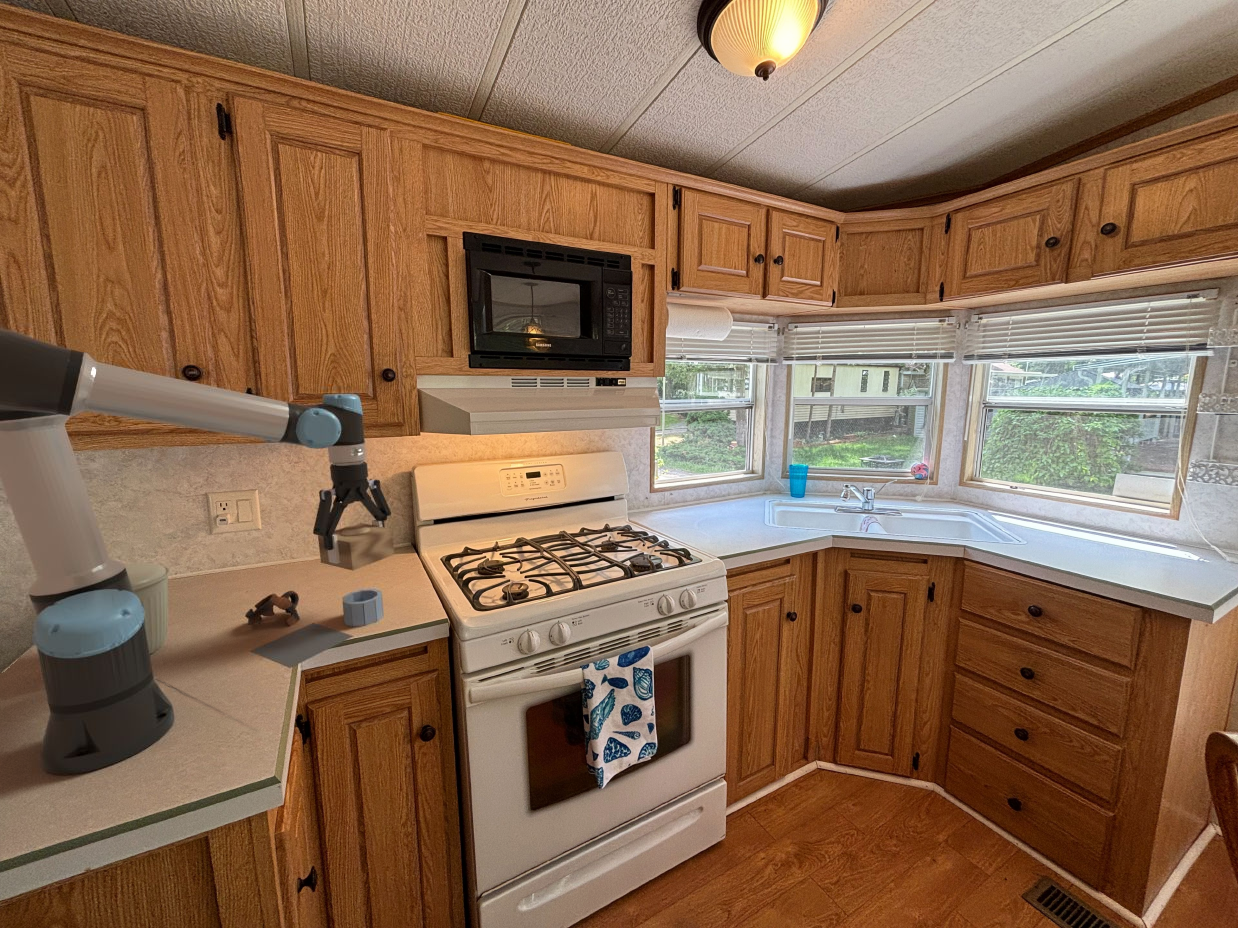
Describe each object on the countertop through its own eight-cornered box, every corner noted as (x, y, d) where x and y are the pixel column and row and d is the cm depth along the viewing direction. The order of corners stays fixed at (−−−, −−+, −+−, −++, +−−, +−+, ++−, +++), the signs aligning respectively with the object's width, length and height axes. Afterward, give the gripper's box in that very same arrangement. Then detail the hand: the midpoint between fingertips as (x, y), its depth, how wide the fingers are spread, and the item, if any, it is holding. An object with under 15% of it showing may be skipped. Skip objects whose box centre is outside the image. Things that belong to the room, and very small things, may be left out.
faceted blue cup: (361, 630, 117) (359, 606, 116) (336, 622, 121) (333, 599, 120) (391, 615, 125) (389, 592, 124) (367, 608, 128) (365, 586, 127)
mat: (290, 669, 102) (290, 667, 102) (249, 652, 108) (249, 650, 108) (353, 637, 114) (353, 635, 114) (313, 624, 120) (313, 622, 120)
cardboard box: (352, 570, 112) (349, 541, 111) (320, 562, 117) (317, 534, 116) (394, 554, 122) (391, 527, 121) (363, 547, 127) (360, 521, 126)
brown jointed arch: (287, 635, 116) (261, 610, 113) (257, 649, 118) (231, 624, 115) (318, 601, 127) (295, 576, 124) (290, 613, 129) (267, 590, 126)
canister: (169, 663, 103) (154, 565, 100) (43, 690, 95) (21, 583, 91) (190, 626, 119) (177, 539, 115) (83, 645, 110) (66, 552, 107)
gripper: (308, 472, 104) (320, 574, 108) (402, 455, 124) (409, 541, 128) (285, 470, 107) (298, 568, 111) (381, 453, 128) (388, 537, 132)
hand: (357, 554), depth 120 cm, fingers closed on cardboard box, 11 cm apart
